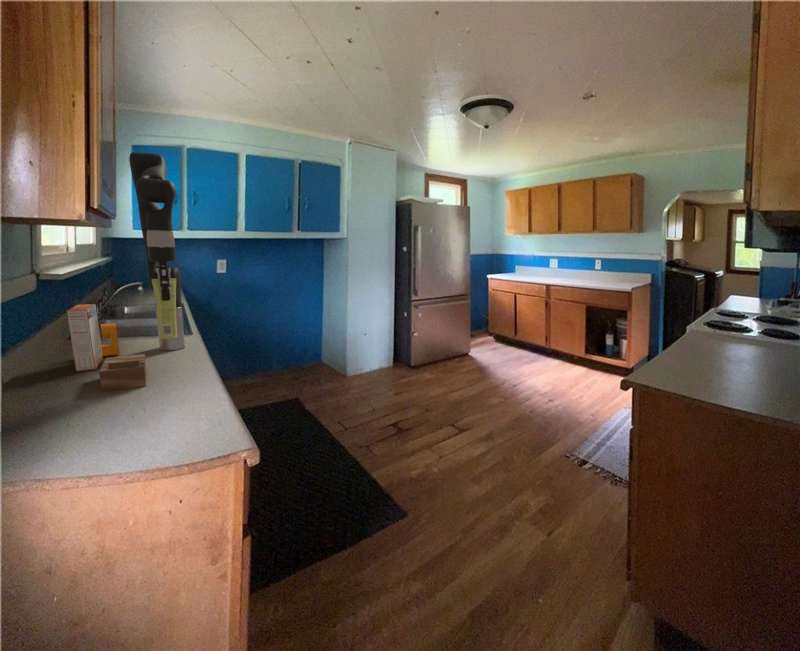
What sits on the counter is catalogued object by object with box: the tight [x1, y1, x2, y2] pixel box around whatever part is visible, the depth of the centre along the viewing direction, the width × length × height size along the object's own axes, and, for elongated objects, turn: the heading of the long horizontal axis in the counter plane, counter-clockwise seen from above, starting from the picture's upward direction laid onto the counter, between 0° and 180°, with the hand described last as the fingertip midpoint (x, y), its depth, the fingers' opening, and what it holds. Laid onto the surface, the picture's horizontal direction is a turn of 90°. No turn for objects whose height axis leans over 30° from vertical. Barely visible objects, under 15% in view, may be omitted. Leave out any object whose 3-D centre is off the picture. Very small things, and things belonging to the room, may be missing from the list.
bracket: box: [100, 322, 120, 357], centre depth 157 cm, size 11×7×12 cm, turn 37°
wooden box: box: [99, 353, 148, 393], centre depth 128 cm, size 16×11×6 cm
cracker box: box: [66, 303, 104, 372], centre depth 141 cm, size 14×6×21 cm, turn 27°
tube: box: [152, 278, 177, 339], centre depth 132 cm, size 6×5×20 cm
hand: (166, 299), depth 132 cm, fingers closed on tube, 4 cm apart
